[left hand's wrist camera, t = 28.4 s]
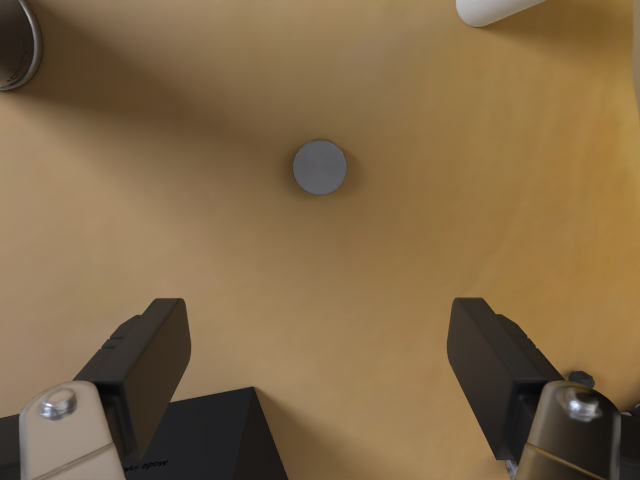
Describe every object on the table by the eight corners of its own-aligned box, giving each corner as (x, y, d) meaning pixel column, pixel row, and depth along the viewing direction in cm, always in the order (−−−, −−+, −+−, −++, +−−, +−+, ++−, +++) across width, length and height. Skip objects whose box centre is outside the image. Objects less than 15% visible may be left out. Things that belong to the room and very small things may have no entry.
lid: (305, 130, 37) (305, 131, 35) (354, 151, 37) (355, 154, 36) (286, 178, 38) (284, 182, 37) (332, 198, 39) (333, 203, 38)
